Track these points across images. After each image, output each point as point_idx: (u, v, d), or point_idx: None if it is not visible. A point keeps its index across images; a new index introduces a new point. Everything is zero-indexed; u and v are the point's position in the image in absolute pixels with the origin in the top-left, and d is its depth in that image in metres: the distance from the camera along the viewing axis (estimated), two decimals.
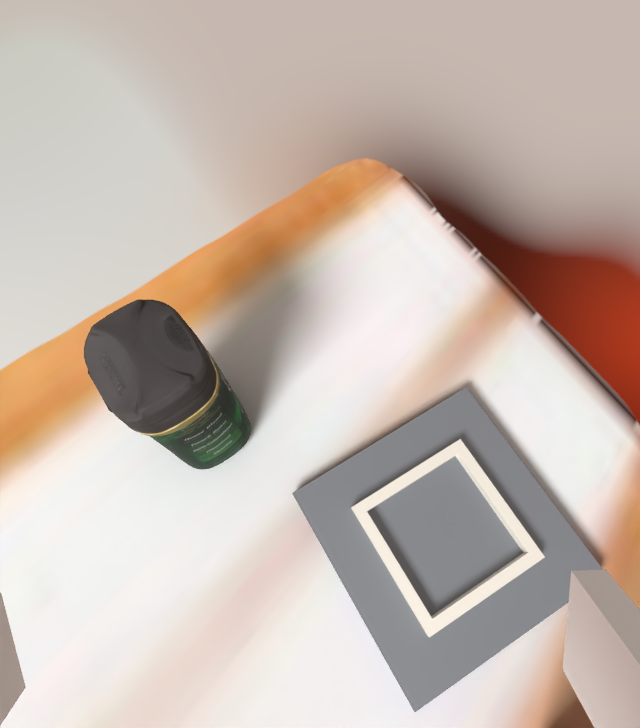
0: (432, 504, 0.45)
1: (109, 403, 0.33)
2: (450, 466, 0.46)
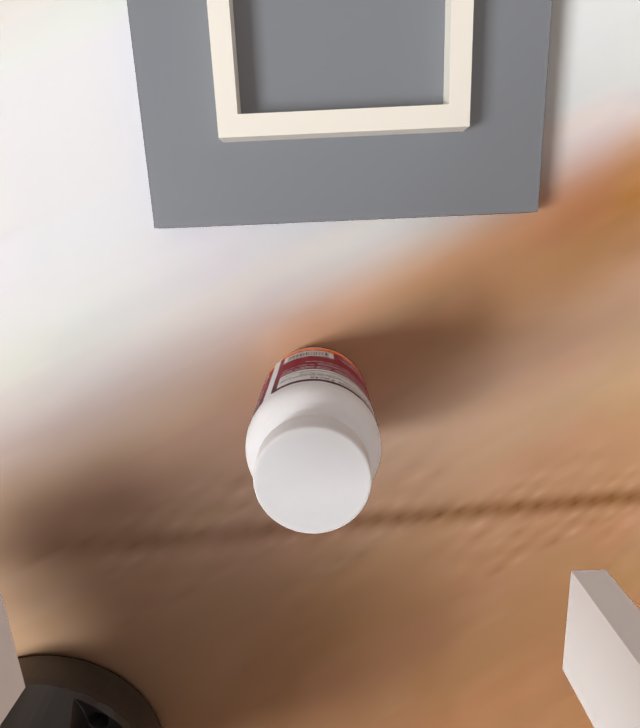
0: None
1: None
2: None
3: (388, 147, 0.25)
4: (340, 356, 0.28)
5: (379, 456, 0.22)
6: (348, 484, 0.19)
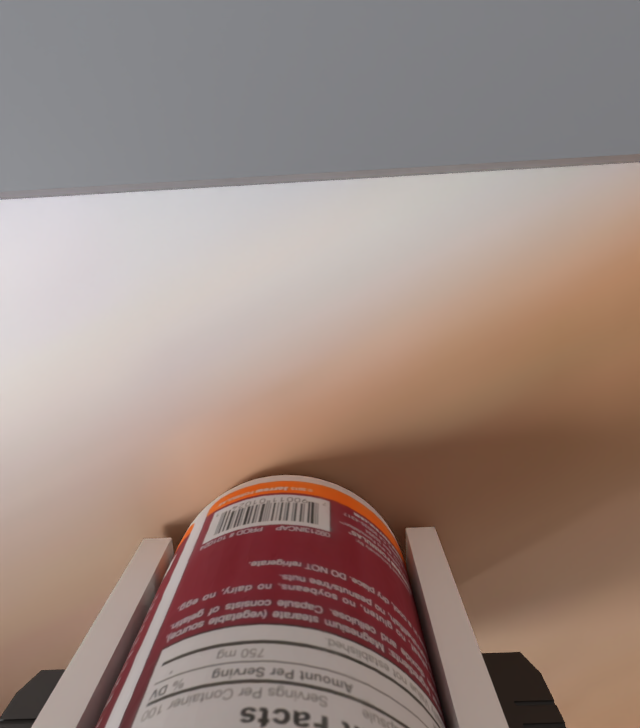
0: None
1: None
2: None
3: None
4: (346, 506, 0.12)
5: None
6: None
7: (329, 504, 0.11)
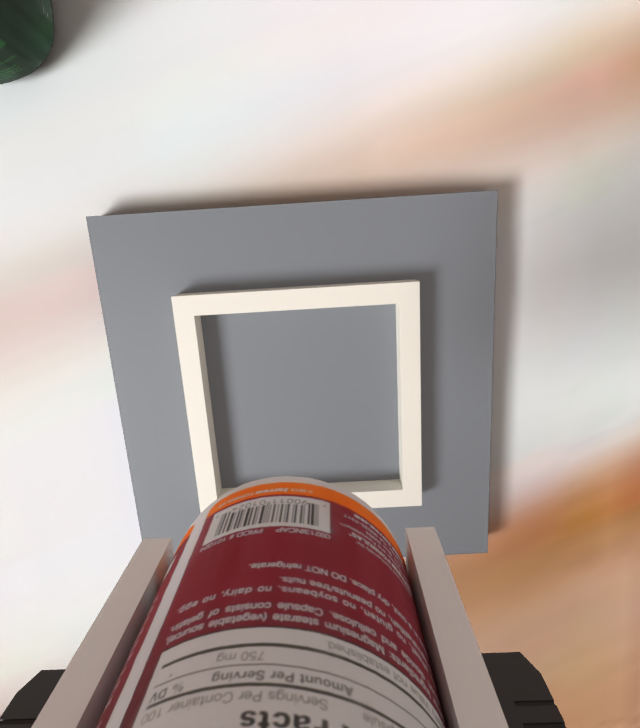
0: (311, 353, 0.26)
1: None
2: (376, 312, 0.25)
3: None
4: (347, 507, 0.12)
5: None
6: None
7: (329, 506, 0.11)
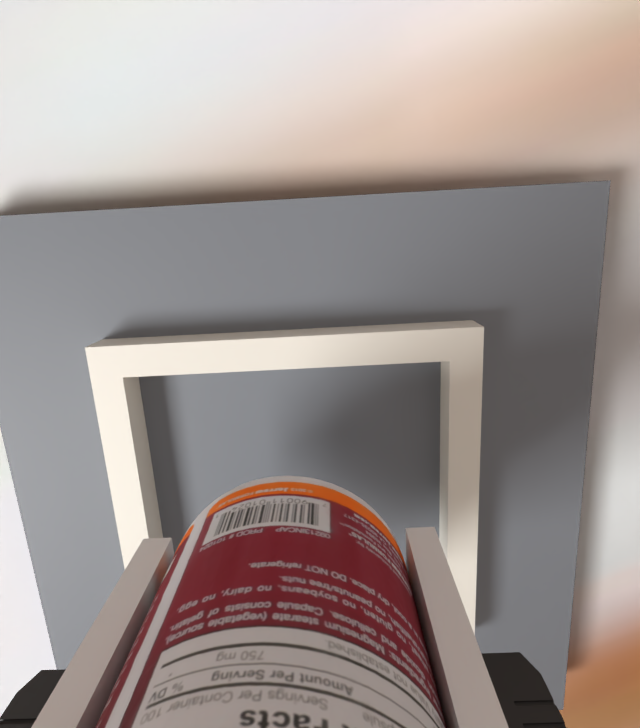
0: (309, 430, 0.17)
1: None
2: (410, 370, 0.16)
3: None
4: (346, 507, 0.12)
5: None
6: None
7: (329, 505, 0.11)
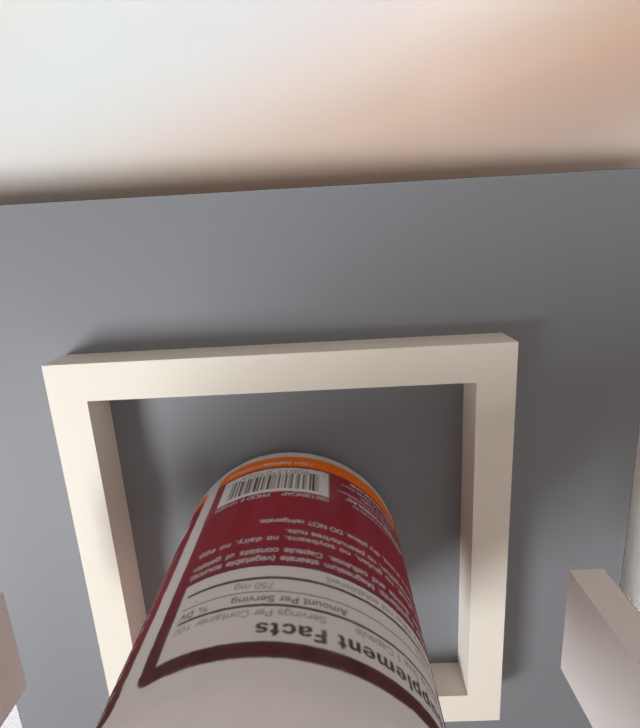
0: None
1: None
2: (428, 391, 0.14)
3: None
4: (344, 478, 0.13)
5: None
6: None
7: (328, 476, 0.13)
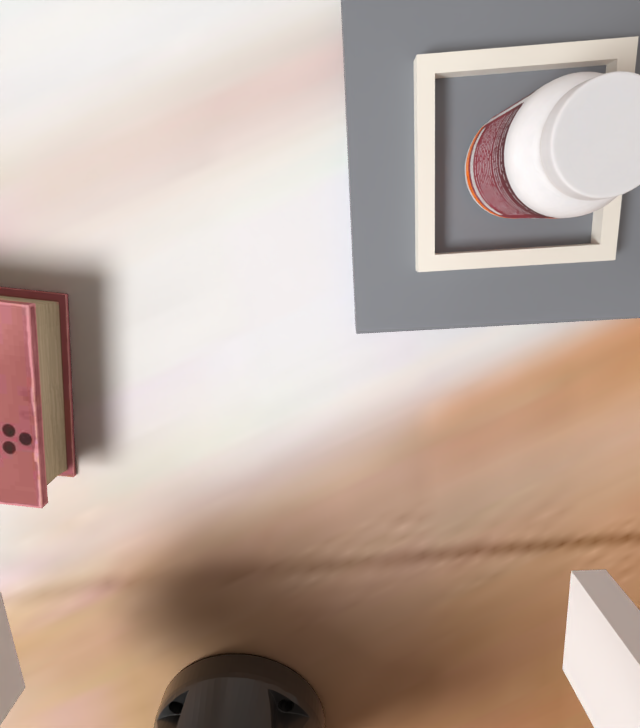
0: None
1: None
2: None
3: (545, 271, 0.32)
4: None
5: None
6: None
7: None
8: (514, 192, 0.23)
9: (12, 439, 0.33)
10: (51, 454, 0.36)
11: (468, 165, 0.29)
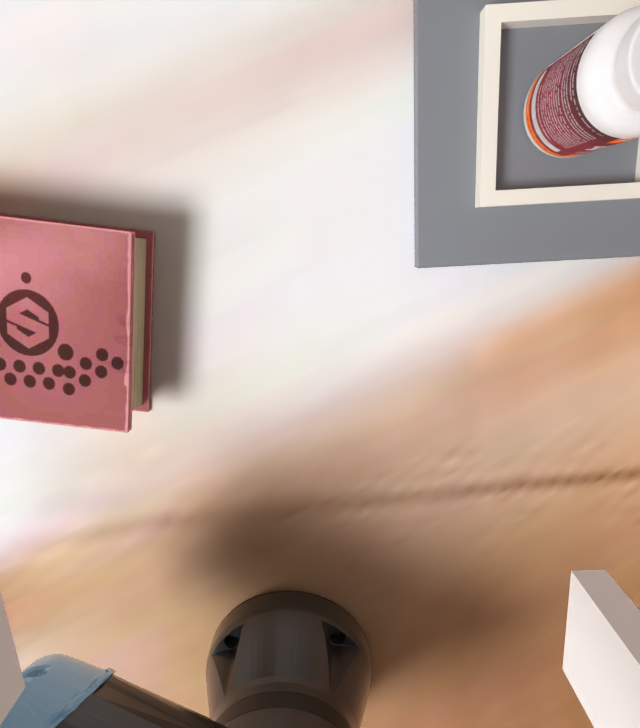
0: None
1: None
2: None
3: (592, 209, 0.35)
4: None
5: None
6: None
7: None
8: (584, 114, 0.26)
9: (104, 364, 0.35)
10: (132, 385, 0.38)
11: (529, 106, 0.32)
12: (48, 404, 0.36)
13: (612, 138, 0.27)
